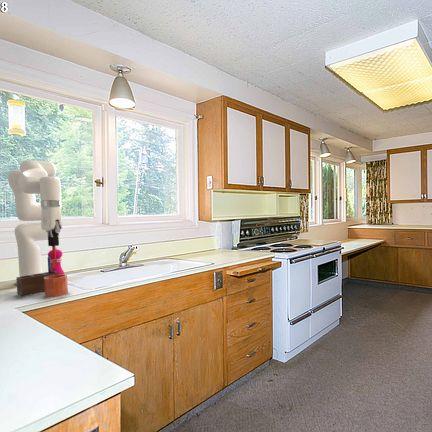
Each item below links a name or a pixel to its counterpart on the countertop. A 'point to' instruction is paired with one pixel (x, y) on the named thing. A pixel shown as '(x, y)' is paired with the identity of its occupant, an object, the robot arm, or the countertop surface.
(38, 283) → the caddy
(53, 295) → the crock
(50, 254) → the pepper mill
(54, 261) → the red toy mallet
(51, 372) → the countertop surface
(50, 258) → the blue rounded rod
